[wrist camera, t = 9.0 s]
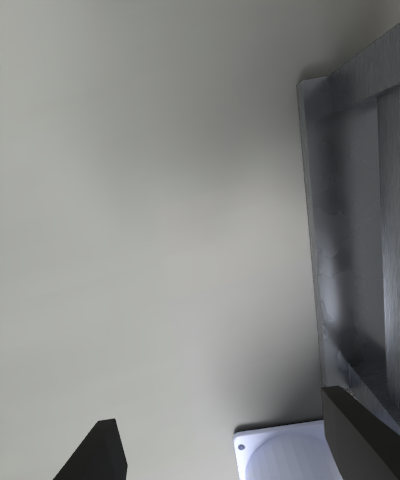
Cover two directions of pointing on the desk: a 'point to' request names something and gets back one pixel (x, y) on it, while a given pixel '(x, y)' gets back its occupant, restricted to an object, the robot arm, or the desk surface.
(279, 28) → the desk surface
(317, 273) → the rail stand
